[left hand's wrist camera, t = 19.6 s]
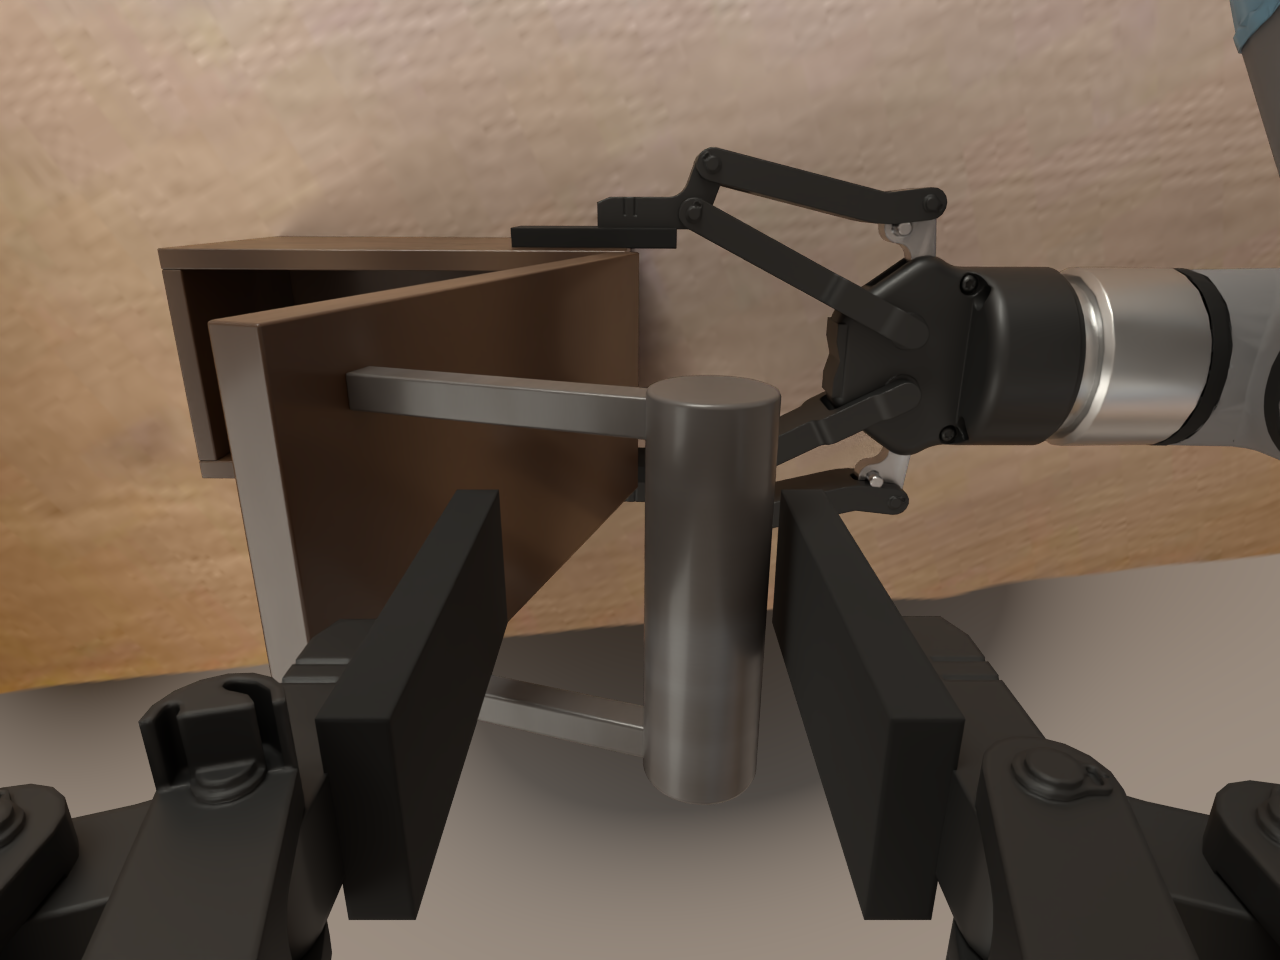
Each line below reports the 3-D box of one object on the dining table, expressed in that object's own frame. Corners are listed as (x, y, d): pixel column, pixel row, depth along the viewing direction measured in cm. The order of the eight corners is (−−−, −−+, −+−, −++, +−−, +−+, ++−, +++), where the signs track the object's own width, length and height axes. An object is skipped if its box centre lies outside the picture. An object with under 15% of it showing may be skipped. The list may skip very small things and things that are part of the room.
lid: (290, 791, 15) (727, 912, 13) (205, 320, 12) (759, 356, 10) (614, 484, 32) (832, 510, 29) (612, 251, 29) (857, 258, 26)
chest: (302, 415, 42) (201, 478, 32) (276, 236, 39) (156, 248, 29) (630, 417, 42) (626, 481, 32) (630, 238, 39) (626, 250, 29)
